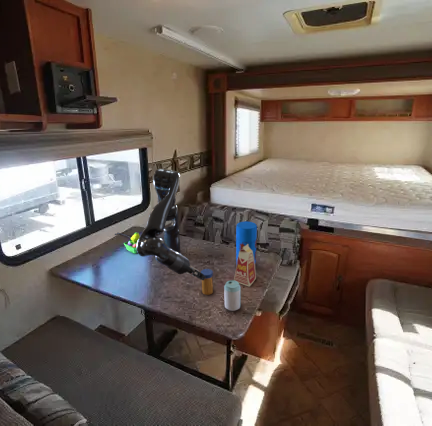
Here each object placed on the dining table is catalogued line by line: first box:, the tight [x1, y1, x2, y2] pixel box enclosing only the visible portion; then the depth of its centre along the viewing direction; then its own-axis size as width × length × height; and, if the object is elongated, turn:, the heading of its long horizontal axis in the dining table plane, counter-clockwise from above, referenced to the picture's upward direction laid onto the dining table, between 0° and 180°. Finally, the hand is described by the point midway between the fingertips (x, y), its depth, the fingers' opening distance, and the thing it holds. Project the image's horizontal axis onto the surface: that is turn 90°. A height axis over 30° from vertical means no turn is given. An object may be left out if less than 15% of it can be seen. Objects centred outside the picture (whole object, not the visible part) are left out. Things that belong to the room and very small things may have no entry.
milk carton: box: [233, 244, 257, 287], centre depth 143 cm, size 9×9×20 cm
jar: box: [201, 276, 214, 296], centre depth 136 cm, size 5×5×11 cm
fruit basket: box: [123, 232, 141, 255], centre depth 180 cm, size 11×9×11 cm
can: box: [223, 279, 241, 312], centre depth 124 cm, size 7×7×12 cm
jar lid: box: [200, 268, 214, 279], centre depth 134 cm, size 6×6×2 cm
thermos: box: [235, 221, 258, 266], centre depth 154 cm, size 11×11×25 cm
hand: (197, 274), depth 130 cm, fingers open, 8 cm apart
